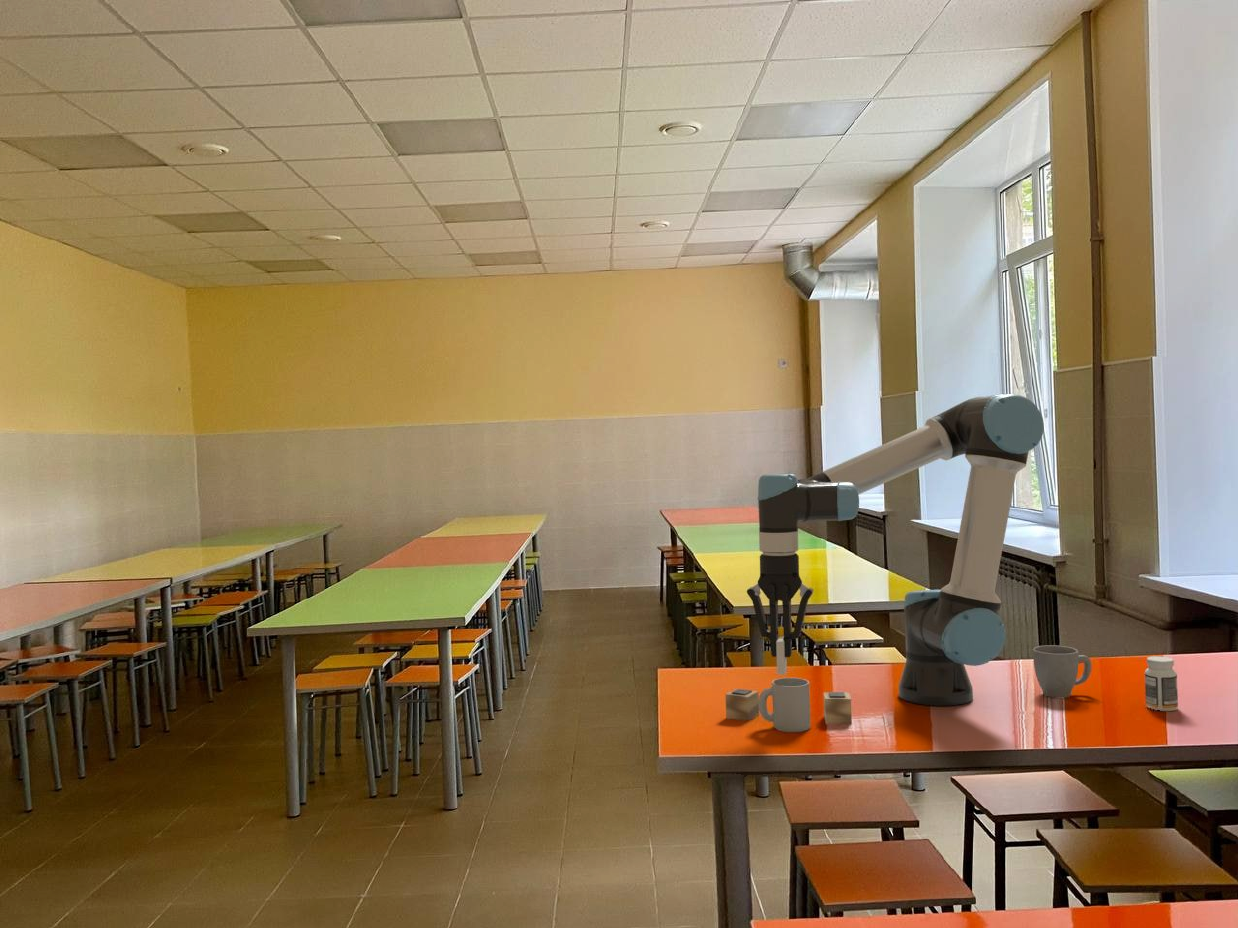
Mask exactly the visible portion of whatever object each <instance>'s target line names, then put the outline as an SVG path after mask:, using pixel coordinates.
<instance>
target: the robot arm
mask: <svg viewBox="0 0 1238 928" xmlns="http://www.w3.org/2000/svg"><path fill="white" fill-rule="evenodd" d="M1044 431H1045V424H1044V417H1043V416H1042V413H1041V411H1040V409H1039V408H1038V407H1037V405H1036V404H1035V403H1034V402H1033V400H1031V399H1029V398H1028V397H1026V396H1024V395H1020V394H1011V393H1010V394H1009V393H999V394H996V395H986V396H977V397H976V396H975V397H973V398H968V399H967V400H964V401H962V402H961V403H958V404H956V405H954V406H952V407H950V408H949V409H947V410H945V411H943V412H941V413H939V414H937V415H935V416H933V417H930V418H928V419H927V420H926V421H925V423H924V426H922V427H919V428H917V429H915V430H913V431H911V432H909V433H908V432H907V433H906V434H904V435H902V436H900V437H897V438H894V439H893V440H890V441H888V442H886V443H884V444H881V445H879V446H876V447H875V448H871V449H870V450H868V451H866V452H863V453H861V454H859V455H857V456H855V457H853V458H850V459H847V460H846V461H843V462H841V463H839V464H837V465H834V466H832V467H829V468H828V469H825V470H823V471H821V472H819V473H817V474H815V475H812V476H810V477H807V478H799V479H797V476H796V474H794V473H769V474H768V473H767V474H763V475H761V476H760V477H759V478H758V487H757V489H758V491H757V503H758V507H757V508H758V524H759V525H758V527H759V529H758V537H759V539H758V542H759V543H758V545H759V552H761V554H760V556H759V577H758V580H757V583H756V584H755V585H754V586H750V587H749V588H748V589H746V593H747V595H748V597H749V598H750V599H751V601H752V605H753V608H754V612H755V617H756V620H757V625H758V627H759V632H760V635H761V637H762V638H767V640H770V654H771V657H774V658H776V675H777V676H786V674H787V672H788V669H787V667H788V666H787V665H788V663H787V658H790V657H791V656H792V655H793V651H792V649H793V647H792V643H793V642H792V640H795V639H799V637H800V636H801V634H802V630H803V624H804V621H805V617H806V611H807V607H808V602H809V600H810V598H811V597H812V595H813V593H814V589H813V588H812V587H808V586H806V585H804V584H803V580H802V579H801V577H800V567H799V566H800V565H799V564H800V562H799V561H800V558H799V555H798V553H797V552H798V551H799V526H798V525H799V523H800V522H802V523H803V522H804V523H805V522H827V521H831V522H832V521H838V522H841V521H850V520H853V519H855V518H856V517H857V515H858V512H859V510H860V509H859V507H860V495H861V494H863V493H866V492H868V491H870V490H873V489H875V488H877V487H879V486H881V485H884V484H886V483H888V482H890V481H892V480H895V479H896V478H900V477H901V476H903V475H905V474H908V473H911V472H912V471H915V470H916V469H919V468H922V467H923V466H926V465H928V464H931V463H932V462H935V461H938V460H939V459H941V460H944V461H949V460H952V459H953V458H956V457H958V456H962V455H964V457H965V459H966V460H967V462H968V463H969V464H970V471H969V476H968V481H967V482H968V483H967V488H966V492H965V498H964V503H963V504H964V505H963V509H962V514H961V520H960V525H959V526H960V527H959V532H958V537H957V543H956V547H955V552H954V558H953V562H952V563H953V565H952V571H951V576H950V581H949V583H948V584H946V585H944V586H943V587H941V589H924V590H913V591H911V590H910V591H908V592H907V593H906V594H905V596H904V604H903V605H904V606H903V611H904V634H905V637H904V638H905V663H904V666H903V669H902V673H901V677H900V679H899V680H900V681H899V683H898V697H900V699H902V700H904V701H905V702H909V703H913V704H919V705H926V706H937V707H938V706H941V707H943V706H944V707H945V706H946V707H947V706H958V705H964V704H967V703H969V702H972V700H974V689H973V685H972V683H971V680H970V677H969V675H968V674H969V673H968V671H967V669H966V666H971V667H974V666H975V667H977V666H982V665H985V664H986V665H987V664H988V663H989V662H991V661H992V660H994V659H995V658H997V656H999V655H1000V652H1002V650H1003V648H1004V646H1005V642H1006V638H1007V635H1006V634H1007V630H1006V627H1005V623H1003V621H1002V619H1001V617H1000V611H1001V604H1002V601H1001V599H1000V597H999V596H998V595H997V593H996V585H997V580H998V577H999V576H998V574H999V570H1000V565H1001V559H1002V553H1003V548H1004V547H1003V546H1004V542H1005V541H1004V540H1005V536H1006V530H1007V527H1008V526H1007V525H1008V521H1009V517H1010V516H1009V515H1010V508H1011V503H1012V499H1013V492H1014V487H1015V482H1016V476H1017V474H1018V472H1020V471H1021V470H1023V469H1024V468H1026V467H1027V463H1028V457H1029V452H1030V451H1031V450H1033V449H1034V448H1035V447H1037V446H1038V445H1039V444H1040V442H1041V439H1042V438H1043V435H1044ZM761 591H762V593H763V594H764V595H765V597H766V598H767V599H768V605H769V624H768V621H767V618H766V615H765V611H764V607H763V603H762V600H761V597H760V595H761ZM798 591H800V592H799V596H800V602H799V604H798V605H799V606H798V610H797V613H796V614H797V616H796V619H795V623H794V628H793V630H792V599H793V598H794V596H795V595H796V593H797V592H798ZM779 601H781V603H782V617H783V618H782V620H783V621H782V622H783V626H782V627H783V638H779V636H780V634H779V606H778V605H779ZM768 625H769V626H768Z"/></svg>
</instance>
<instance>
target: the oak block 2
mask: <svg viewBox="0 0 1238 928" xmlns="http://www.w3.org/2000/svg"><path fill="white" fill-rule="evenodd" d="M823 716H824V717H823V718H824V721H825V724H826V725H828V724H832V725H833V724H835V725H837V724H838V725H840V724H841V725H843V724H844V725H846V724H847V725H852V723H853V721H852V720H853V719H852V717H853V716H852V697H851V695H850V693H849V692H845V691H844V692H843V691H841V692H840V691H839V692H838V691H836V692H835V691H834V692H833V691H832V692H831V691H830V692H823Z"/></svg>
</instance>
